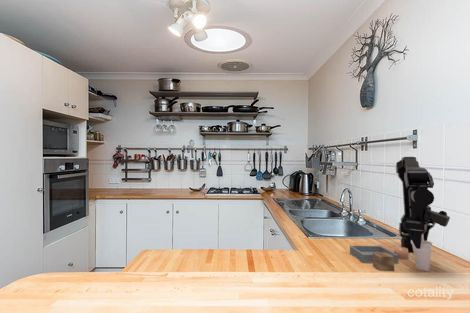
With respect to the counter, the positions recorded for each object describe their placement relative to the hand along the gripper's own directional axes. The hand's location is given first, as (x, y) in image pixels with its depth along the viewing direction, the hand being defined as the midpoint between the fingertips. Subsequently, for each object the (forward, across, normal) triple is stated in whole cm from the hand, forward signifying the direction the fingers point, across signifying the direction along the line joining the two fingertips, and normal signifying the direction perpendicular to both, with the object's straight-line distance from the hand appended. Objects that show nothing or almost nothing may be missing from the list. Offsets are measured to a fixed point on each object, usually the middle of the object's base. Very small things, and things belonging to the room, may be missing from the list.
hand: (421, 246), depth 92 cm
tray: (+8, 0, +17) cm, 19 cm away
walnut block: (+8, -10, +10) cm, 16 cm away
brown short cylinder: (+8, +9, +9) cm, 15 cm away
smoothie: (+8, 0, 0) cm, 8 cm away
